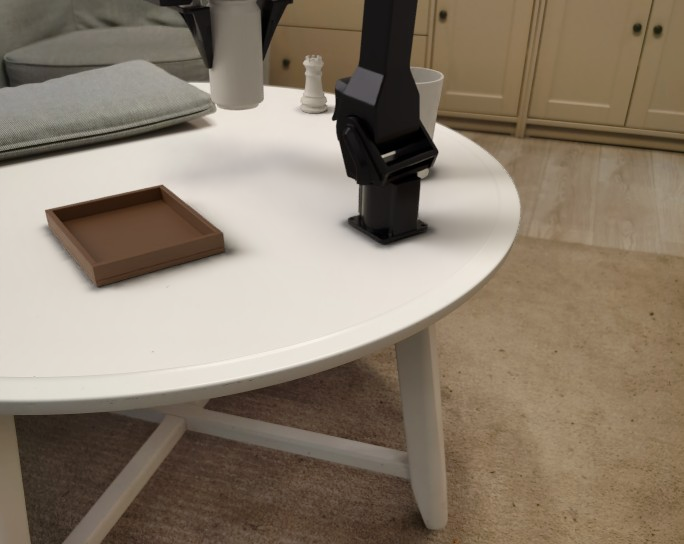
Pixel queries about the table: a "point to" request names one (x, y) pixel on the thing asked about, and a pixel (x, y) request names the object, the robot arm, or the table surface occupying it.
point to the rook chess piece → (313, 86)
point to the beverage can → (236, 54)
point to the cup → (427, 100)
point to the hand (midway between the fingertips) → (235, 64)
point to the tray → (133, 233)
